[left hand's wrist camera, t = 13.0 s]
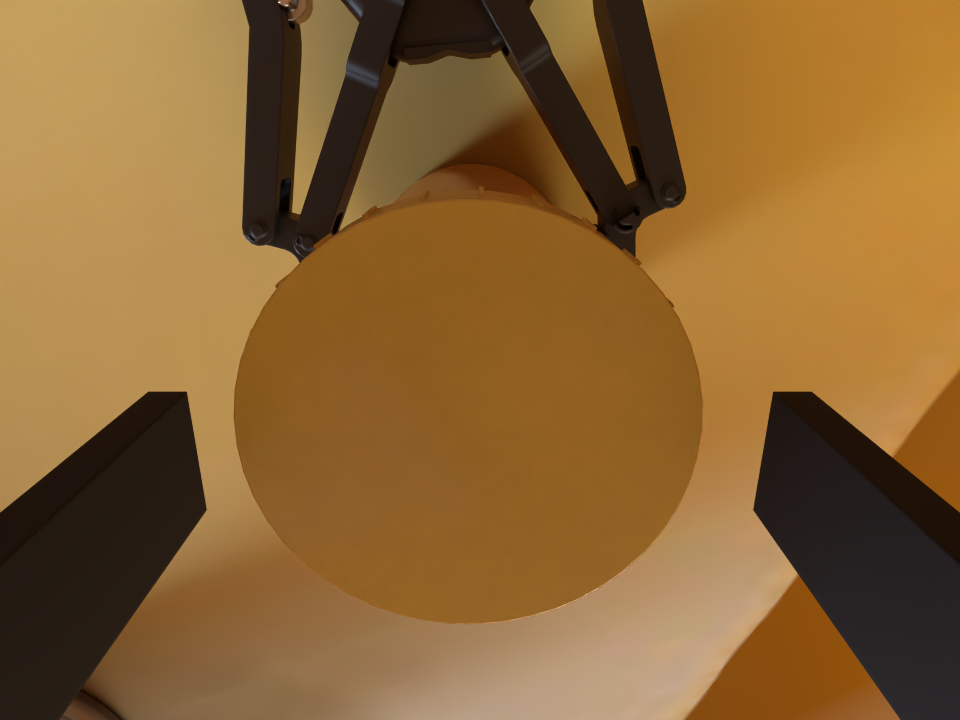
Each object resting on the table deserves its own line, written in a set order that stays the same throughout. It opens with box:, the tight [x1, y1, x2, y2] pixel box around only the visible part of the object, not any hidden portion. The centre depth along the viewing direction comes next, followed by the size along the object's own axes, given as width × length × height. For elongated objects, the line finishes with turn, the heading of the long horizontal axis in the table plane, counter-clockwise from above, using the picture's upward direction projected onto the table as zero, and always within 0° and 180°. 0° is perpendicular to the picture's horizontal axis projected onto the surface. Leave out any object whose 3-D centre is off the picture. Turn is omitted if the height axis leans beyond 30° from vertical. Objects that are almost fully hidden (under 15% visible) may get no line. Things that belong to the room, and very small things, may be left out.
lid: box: [234, 186, 703, 624], centre depth 15 cm, size 10×10×2 cm
